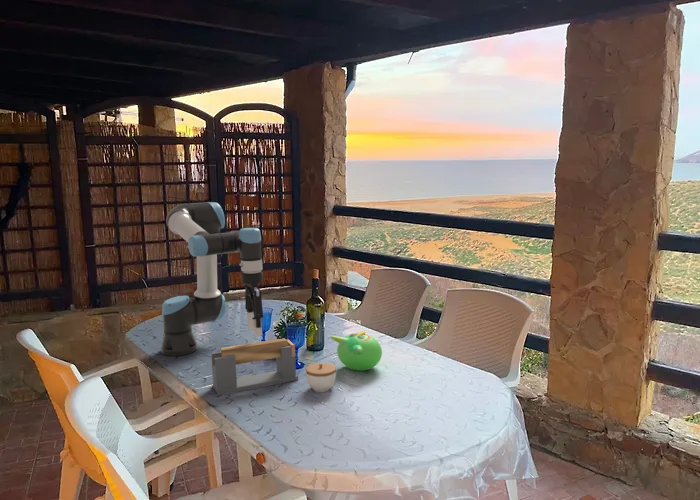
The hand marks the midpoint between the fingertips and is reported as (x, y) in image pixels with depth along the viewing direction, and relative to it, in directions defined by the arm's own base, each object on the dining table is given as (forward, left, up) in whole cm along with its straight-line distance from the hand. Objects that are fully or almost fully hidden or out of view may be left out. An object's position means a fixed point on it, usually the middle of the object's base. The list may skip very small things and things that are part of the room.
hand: (255, 332), depth 200 cm
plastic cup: (-30, +21, -19) cm, 41 cm away
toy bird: (+5, +39, -19) cm, 44 cm away
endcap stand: (0, 0, -19) cm, 19 cm away
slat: (0, 0, -10) cm, 10 cm away
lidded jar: (+16, +19, -19) cm, 32 cm away
